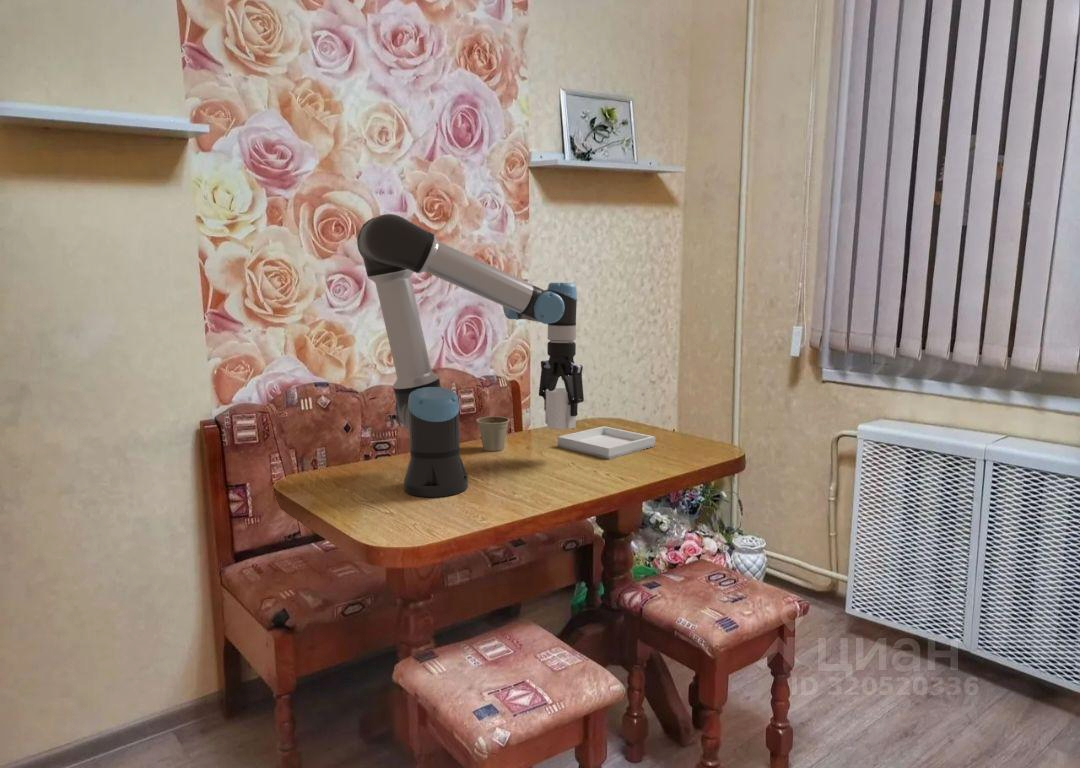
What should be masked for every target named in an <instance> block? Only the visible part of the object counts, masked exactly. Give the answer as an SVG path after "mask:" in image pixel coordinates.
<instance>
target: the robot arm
mask: <svg viewBox="0 0 1080 768" xmlns="http://www.w3.org/2000/svg"><path fill="white" fill-rule="evenodd" d="M356 242H357V243H356V244H357V249H358V252H359V254H360V256H361V257H362V259H363V264H364V268H365V272H366V276H367V278H368V279H369V280H370V281H372V282H373V283H374V284H375V287H376V291H377V292H376V293H377V295H378V300H379V305H380V308H381V313H382V317H383V322H384V326H385V330H386V334H387V340H388V343H389V349H390V352H391V357H392V361H393V365H394V368H395V374H396V380H395V382H394V383H393V385H392V388H393V393H394V396H395V413H396V417H397V418H398V420H399V422H400V423H401V424H402V425H403V426H404V427H405V428H406V429H407V430H408V431H409V447H410V448H409V450H410V451H409V452H410V454H409V455H410V458H409V462H408V465H407V469H406V473H405V477H404V479H403V488H404V489H403V491H404V492H405V493H407V494H409V495H411V496H414V497H422V498H441V497H447V496H453V495H458V494H461V493H462V492H465V491H466V490H467V489H468V488H469V478H468V477H469V476H468V475H467V471H466V469H465V465H464V463H463V460H462V457H461V448H460V447H461V444H460V443H461V442H460V441H461V440H460V438H461V437H460V408H461V407H460V402H459V395H458V394H457V393H456V392H455V391H454V390H453V389H449V388H445V387H442V385H441V381H440V377H439V375H438V374H436V373H435V372H433V371H432V368H431V363H430V359H429V358H430V357H429V354H428V350H427V345H426V341H425V335H424V332H423V326H422V323H421V322H422V321H421V317H420V314H419V309H418V305H417V303H418V302H417V300H416V294H415V290H414V286H413V282H412V275H413V273H416V274H421V273H423V272H425V273H426V274H429V275H432V276H434V277H436V278H439V279H440V280H442V281H445V282H448V283H450V284H452V285H454V286H457V287H459V288H461V289H464V290H465V291H468V292H470V293H473V294H475V295H478V296H479V297H482V298H484V299H486V300H488V301H492V302H493V303H496V304H497V305H501V306H502V307H503V308H502V309H503V313H504V316H505V318H507V319H508V320H516V321H518V320H526V321H527V320H528V321H533V322H538V323H542V324H545V325H547V340H548V342H547V351H546V354H547V356H548V358H549V359H548V360H541V361H540V369H541V372H540V380H539V389H538V395H539V397H542V398H543V400H544V406H543V407H544V408H543V409H544V412H545V417H544V419H545V421H544V422H545V425H547V413H546V389H548V390H549V391H553V390H555V388H557V384H558V381H559V378H561V380H562V381H563V385H564V388H566V392H568V395H567V396H568V400H569V403H567V427H566V428H567V430H569V429H574V428H576V427H577V426H576V424H577V422H576V421H577V419H576V418H577V416H578V406H579V404H580V403H583V402H584V401H585V399H584V385H583V375H582V373H583V368H584V367H583V365H582V364H578V363H577V364H576V363H575V360H574V357H575V356H576V353H577V352H576V350H577V349H576V346H577V345H576V344H577V343H576V342H575V341H576V338H577V336H576V335H577V307H578V306H577V303H578V297H577V296H578V294H577V293H578V292H577V285H576V284H575V283H573V282H550V283H548V287H547V289H542V288H541V287H538V286H536V285H534V284H531V283H529V282H528V281H525V280H523V279H521V278H518V277H517V276H514V275H512V274H510V273H508V272H505V271H503V270H502V269H499V268H498V267H495V266H493V265H490V264H489V263H487V262H484V261H482V260H479V259H477V258H475V257H473V256H471V255H469V254H466V253H465V252H462V251H461V250H458V249H456V248H453V247H452V246H449V245H447V244H445V243H443V242H441V241H439V240H438V239H437V236H436V234H434V233H432V232H430V231H428V230H425V229H424V228H422V227H420V226H418V225H417V224H415V223H413V222H412V221H410V220H408V219H406V218H404V217H402V216H400V215H397V214H392V213H386V214H384V213H383V214H381V215H379V216H375V217H372V218H370V219H368V220H367V221H366V222H365V223H363V225H362V226H361V227H360V229H359V232H358V235H357V241H356ZM573 398H574V399H573Z"/></svg>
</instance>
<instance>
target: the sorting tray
mask: <svg viewBox="0 0 1080 768" xmlns="http://www.w3.org/2000/svg"><path fill="white" fill-rule="evenodd" d="M653 446H655V447H656V436H653V435H648V434H645V433H644V434H643V433H639V432H634V431H630V430H624V429H619V428H614V427H610V426H605V425H603V426H598V427H595V428H589V429H586V430H581V431H577V432H573V433H568V434H562V435H560V436H559V435H558V436H557V447H559V448H562V449H566V450H570V451H574V452H578V453H581V454H587V455H590V456H594V457H598V458H602V459H606V460H612V459H614V458H615V459H616V458H619V457H623V456H626V454H627V455H630V454H629V453H631V454H633V452H634V453H638V452H641V451H640V450H642V451H644V450H643V449H645V450H647V449H646V448H649V449H651V448H650V447H653ZM653 448H654V447H653ZM637 451H638V452H637Z"/></svg>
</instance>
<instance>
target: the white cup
mask: <svg viewBox="0 0 1080 768" xmlns="http://www.w3.org/2000/svg"><path fill="white" fill-rule="evenodd" d="M567 395H568V392H566V388H565V387H556V388H555V390H553V391H549V390H548V389H546V411H545V412H546V413H547V424H546V425H547V427H548V428H549V429H556V430H566V429H567V428H566V427H567V403H569V400H568V396H567ZM573 399H574V398H573ZM567 430H568V429H567Z"/></svg>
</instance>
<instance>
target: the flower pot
mask: <svg viewBox="0 0 1080 768" xmlns="http://www.w3.org/2000/svg"><path fill="white" fill-rule="evenodd" d="M510 421H511V420H510V418H508V417H504V416H497V415H496V416H494V415H493V416H483V417H479V418H477V419H476V423H477V424H478V425H477V426H478V427H479V430H480V431H479V432H480V439H481V444H482V449H483V450H484V451H486V452H495V451H499V452H501V451H503V450H505V448H506V447H505V446H506V445H505V444H506V436H507V430H508V429H507V428H508V426H509V423H510Z"/></svg>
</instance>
